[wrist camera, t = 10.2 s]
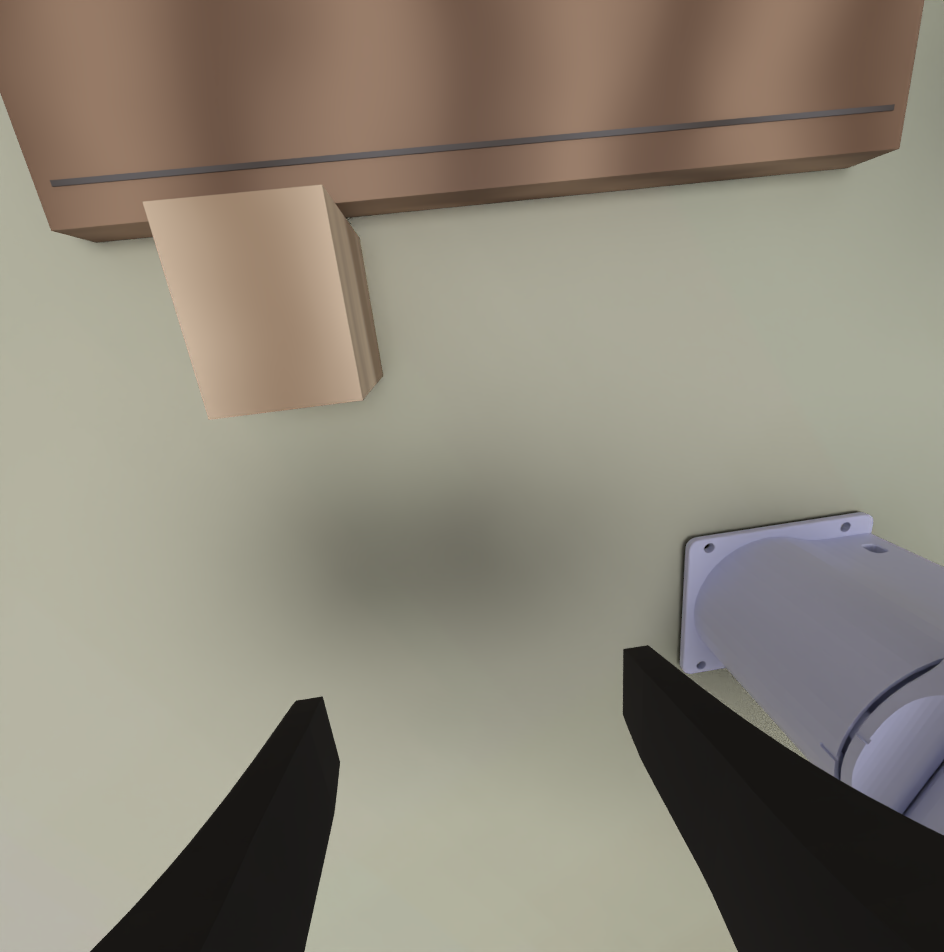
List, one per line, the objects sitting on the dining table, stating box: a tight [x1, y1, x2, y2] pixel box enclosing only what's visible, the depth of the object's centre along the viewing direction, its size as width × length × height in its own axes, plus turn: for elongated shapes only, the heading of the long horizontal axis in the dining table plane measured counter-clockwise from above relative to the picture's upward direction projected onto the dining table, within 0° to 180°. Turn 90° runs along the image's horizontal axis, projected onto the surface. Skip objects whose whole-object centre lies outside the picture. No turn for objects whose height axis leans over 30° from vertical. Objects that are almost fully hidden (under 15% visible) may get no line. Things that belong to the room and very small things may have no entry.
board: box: [0, 0, 924, 242], centre depth 14 cm, size 28×7×2 cm, turn 96°
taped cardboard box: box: [143, 185, 383, 420], centre depth 14 cm, size 4×5×6 cm
